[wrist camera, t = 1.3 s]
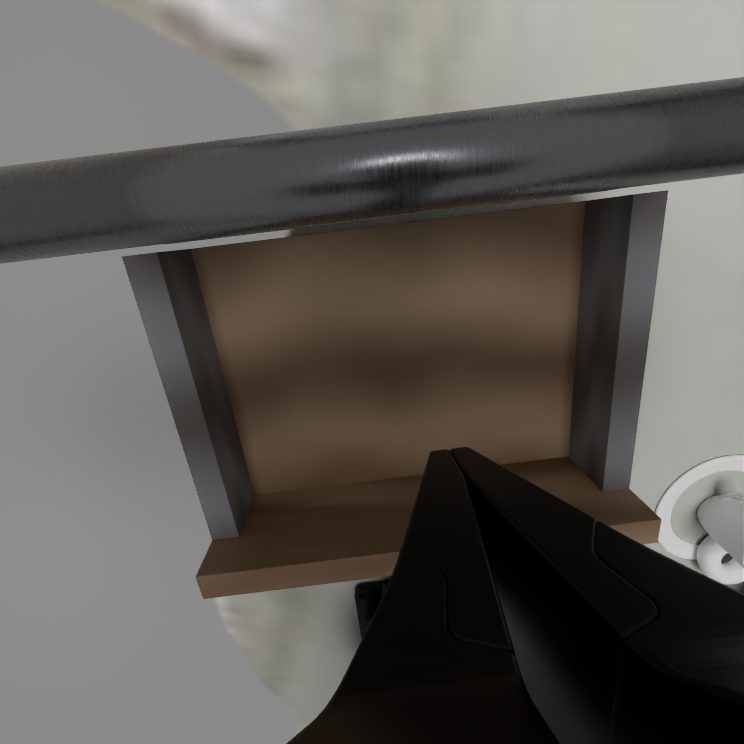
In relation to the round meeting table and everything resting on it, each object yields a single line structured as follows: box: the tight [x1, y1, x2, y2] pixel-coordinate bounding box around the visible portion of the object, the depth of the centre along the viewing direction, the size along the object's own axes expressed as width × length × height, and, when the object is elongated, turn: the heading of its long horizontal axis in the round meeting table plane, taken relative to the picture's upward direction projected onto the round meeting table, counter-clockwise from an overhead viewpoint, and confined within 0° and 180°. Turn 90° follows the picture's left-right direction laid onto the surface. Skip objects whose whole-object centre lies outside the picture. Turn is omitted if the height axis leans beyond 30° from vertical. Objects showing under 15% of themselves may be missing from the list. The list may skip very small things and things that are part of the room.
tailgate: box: [0, 77, 744, 263], centre depth 11 cm, size 2×18×10 cm, turn 96°
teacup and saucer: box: [655, 455, 744, 584], centre depth 23 cm, size 9×8×4 cm
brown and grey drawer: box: [122, 191, 668, 599], centre depth 17 cm, size 14×19×7 cm
